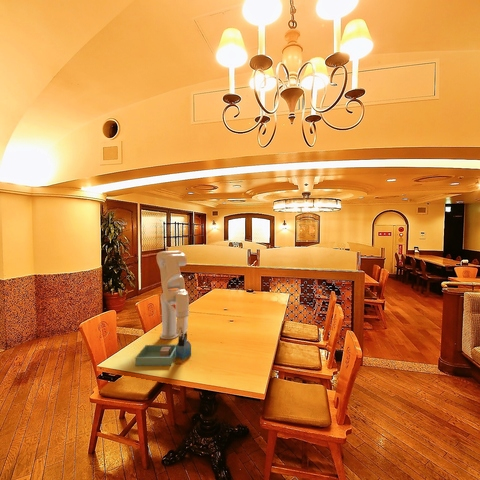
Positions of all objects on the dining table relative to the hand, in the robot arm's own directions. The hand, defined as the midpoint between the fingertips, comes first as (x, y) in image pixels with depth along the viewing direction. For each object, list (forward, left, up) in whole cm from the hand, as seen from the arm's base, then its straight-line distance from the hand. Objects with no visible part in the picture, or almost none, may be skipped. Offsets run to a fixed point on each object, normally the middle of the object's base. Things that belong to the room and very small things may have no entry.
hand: (182, 342), depth 149 cm
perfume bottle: (0, 0, -8) cm, 8 cm away
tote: (+3, -14, -8) cm, 16 cm away
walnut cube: (+3, -10, -7) cm, 12 cm away
